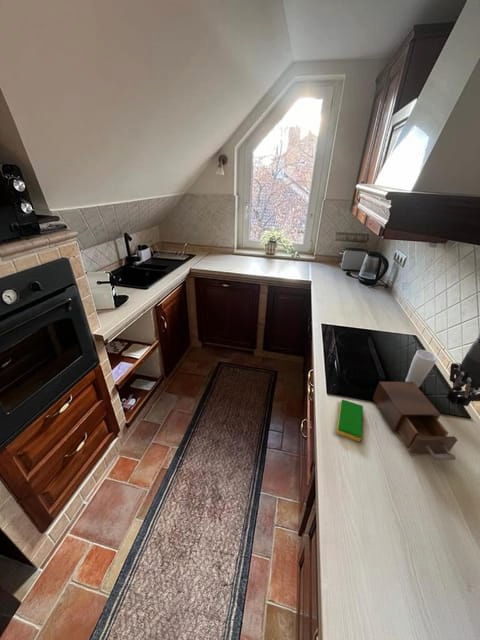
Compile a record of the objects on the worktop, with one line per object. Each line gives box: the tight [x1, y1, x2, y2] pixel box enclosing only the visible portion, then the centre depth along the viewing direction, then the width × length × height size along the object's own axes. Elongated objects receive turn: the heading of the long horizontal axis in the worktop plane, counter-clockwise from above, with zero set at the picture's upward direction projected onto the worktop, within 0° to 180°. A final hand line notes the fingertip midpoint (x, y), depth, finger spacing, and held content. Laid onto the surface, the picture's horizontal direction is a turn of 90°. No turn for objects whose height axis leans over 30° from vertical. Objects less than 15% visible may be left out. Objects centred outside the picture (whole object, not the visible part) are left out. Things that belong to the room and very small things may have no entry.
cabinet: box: [372, 381, 442, 433], centre depth 88 cm, size 15×13×9 cm
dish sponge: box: [336, 399, 364, 442], centre depth 87 cm, size 7×14×2 cm, turn 156°
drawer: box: [397, 416, 458, 461], centre depth 79 cm, size 18×11×7 cm, turn 1°
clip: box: [446, 390, 466, 405], centre depth 79 cm, size 5×3×3 cm, turn 91°
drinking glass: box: [404, 349, 438, 389], centre depth 100 cm, size 7×7×15 cm
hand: (457, 400), depth 80 cm, fingers closed on clip, 3 cm apart
